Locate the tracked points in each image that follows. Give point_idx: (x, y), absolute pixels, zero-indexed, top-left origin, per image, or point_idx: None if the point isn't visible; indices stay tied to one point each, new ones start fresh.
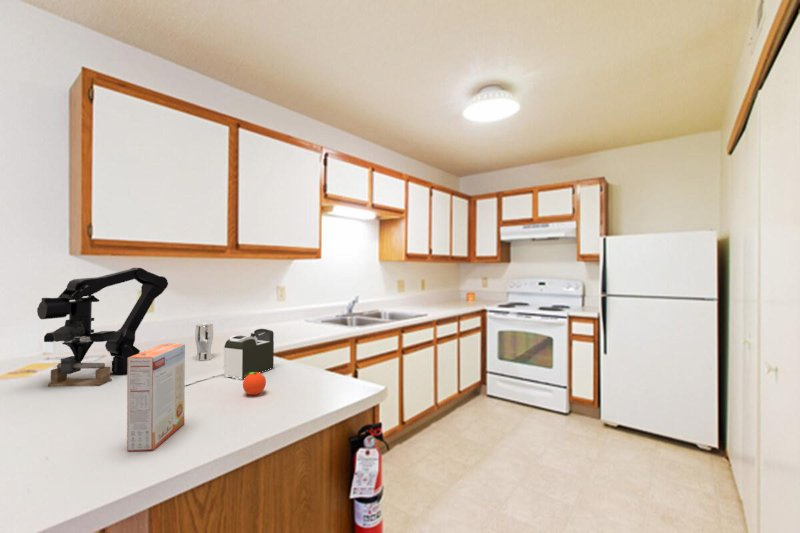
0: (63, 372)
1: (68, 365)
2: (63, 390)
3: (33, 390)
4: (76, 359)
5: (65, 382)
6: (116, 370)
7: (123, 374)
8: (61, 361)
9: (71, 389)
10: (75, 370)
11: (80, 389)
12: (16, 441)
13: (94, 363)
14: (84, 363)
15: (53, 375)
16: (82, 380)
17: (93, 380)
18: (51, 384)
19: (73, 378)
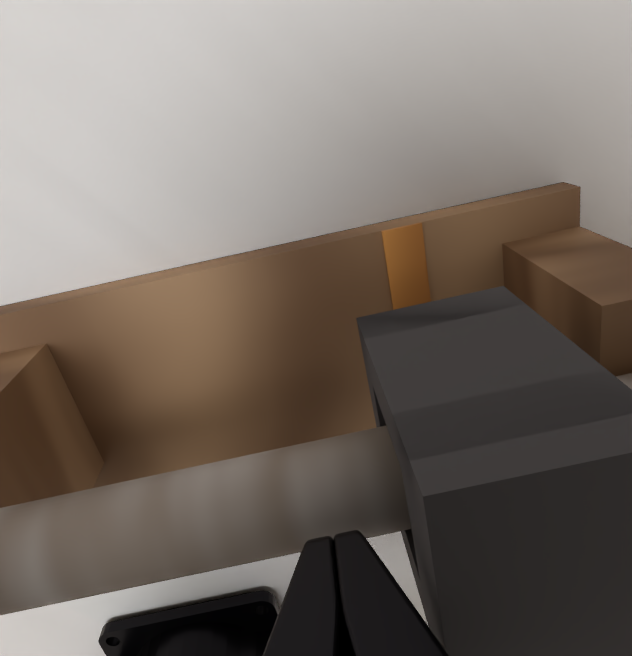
0: (466, 304)
1: (424, 386)
2: (216, 78)
3: (610, 4)
4: (370, 566)
5: (405, 271)
6: (214, 648)
7: (136, 618)
8: (629, 403)
9: (158, 136)
10: (378, 423)
11: (42, 158)
12: None
13: (26, 574)
14: (222, 536)
15: (605, 263)
16: (290, 378)
17: (163, 403)
18: (532, 196)
19: None
